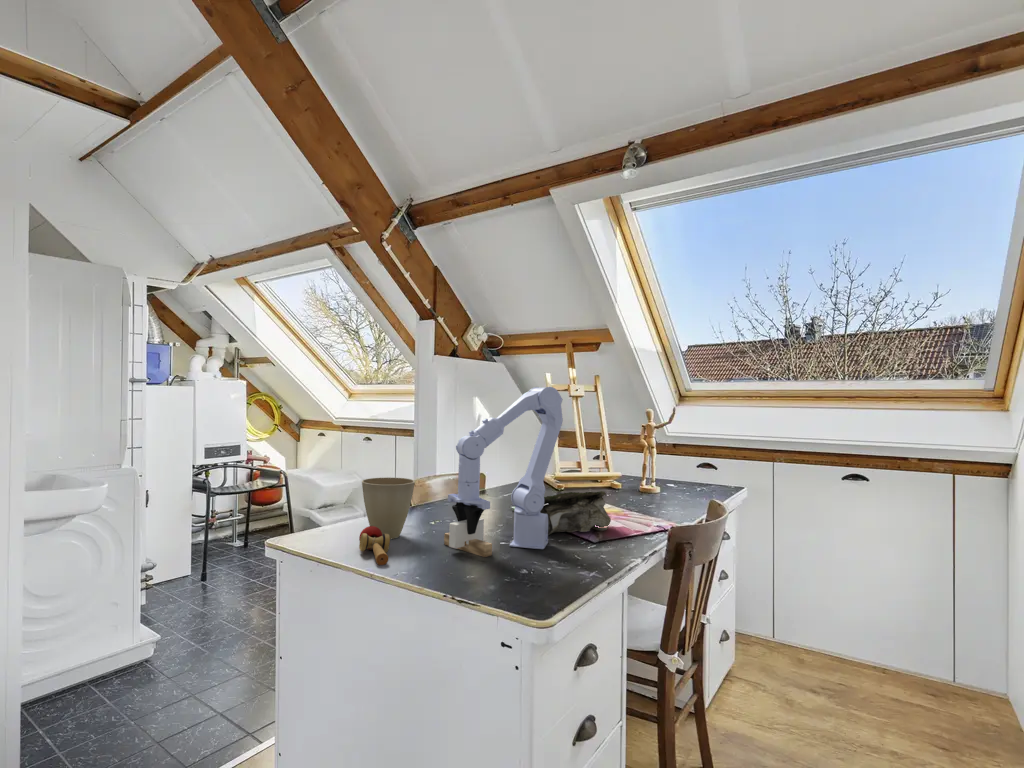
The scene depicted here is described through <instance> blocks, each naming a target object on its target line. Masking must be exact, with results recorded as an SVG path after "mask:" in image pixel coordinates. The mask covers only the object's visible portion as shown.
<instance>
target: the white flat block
mask: <svg viewBox="0 0 1024 768" xmlns="http://www.w3.org/2000/svg"><path fill="white" fill-rule="evenodd" d="M484 524H485V519H484V518H481V517H480V519H479V521H478V524H477V528H476V532H475V533H474V534H468V531H467V520H463V521H459V522H458V521H455V522H450V523H449V526H448V527H449V528H448V529H449V532H448V533H449V546H448V547H449V548H452V549H457V548H460V547H463V546H465V541H466V542H467V541H468V542H469V540H473V539H478V540H481V541H484V535H485V534H484V533H485V532H484V529H485V528H484V527H485V525H484Z"/></svg>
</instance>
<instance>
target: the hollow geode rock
mask: <svg viewBox="0 0 1024 768" xmlns="http://www.w3.org/2000/svg"><path fill="white" fill-rule="evenodd" d="M604 496H607V492H605V491H602V490H599V491H594V492H593V491H586V492H578V491H577V492H573V491H569V492H562V493H561V492H560V493H558V494H555V495H547V496H544V506H543V508H542V510H541V511H540V513H543V514H547V515H548V536H550V535H551V534H553V533H560V532H562V533H563V532H567V533H574V532H581V533H582V532H583V533H586V532H587V531H588V532H590V531H591V529H594V530H596V531H600V532H601V531H607V530H608V528H609V526H610V525H609V524H611V521H612V519H611V517H610V515H609V514H608V512H607V511H606V509H605V505H606V501H605V499H604ZM595 525H596V526H599V527H604V526H608V525H609V526H608V527H607V528H598V527H595Z"/></svg>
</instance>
